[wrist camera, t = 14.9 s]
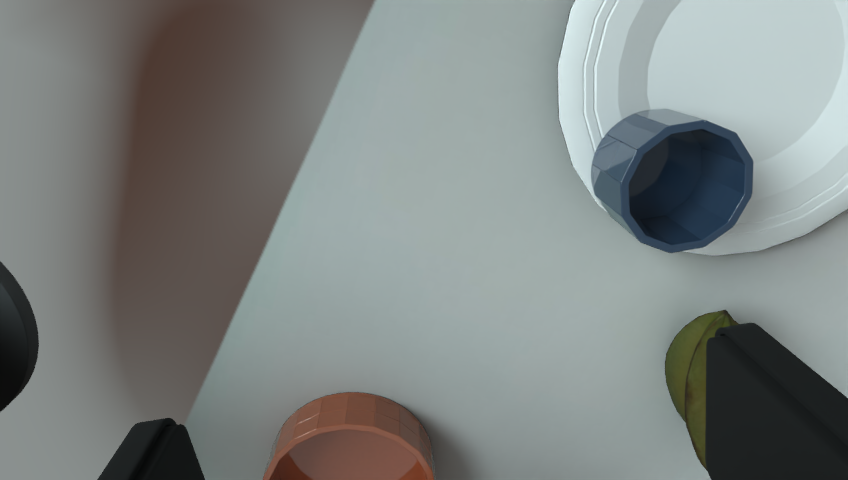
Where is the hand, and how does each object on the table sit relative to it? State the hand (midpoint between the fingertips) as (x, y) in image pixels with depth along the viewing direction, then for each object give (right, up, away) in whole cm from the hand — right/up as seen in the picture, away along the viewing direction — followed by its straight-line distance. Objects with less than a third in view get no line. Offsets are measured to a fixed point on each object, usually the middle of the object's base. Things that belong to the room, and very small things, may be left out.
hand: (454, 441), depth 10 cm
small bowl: (+14, +8, +28) cm, 32 cm away
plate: (+20, +15, +28) cm, 38 cm away
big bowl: (-6, -14, +37) cm, 40 cm away
